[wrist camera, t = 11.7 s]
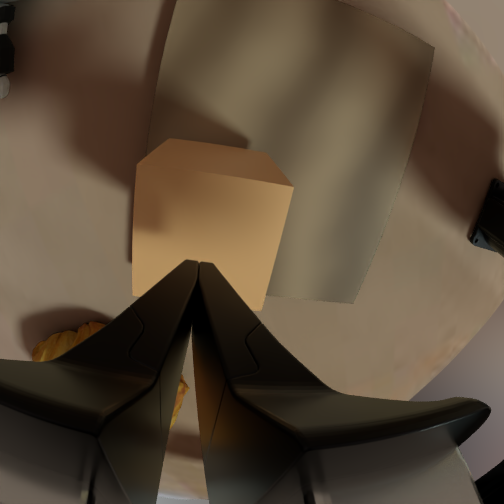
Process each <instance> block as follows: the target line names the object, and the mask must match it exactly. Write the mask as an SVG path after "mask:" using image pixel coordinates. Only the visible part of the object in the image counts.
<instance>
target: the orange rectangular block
mask: <svg viewBox="0 0 504 504" xmlns="http://www.w3.org/2000/svg"><path fill="white" fill-rule="evenodd" d="M293 189H294V186H293V185H292V184H291V183H290V181H289V180H288V179H287V178H286V176H285V175H284V174H283V173H282V171H281V170H280V169H279V168H278V166H277V165H276V164H275V163H274V161H273V160H272V159H271V158H270V157H269V155H268V154H267V153H265V152H260V151H254V150H249V149H243V148H237V147H231V146H225V145H218V144H211V143H204V142H197V141H189V140H181V139H173V138H169V139H167V140H166V141H165V142H164V143H162V144H161V145H160V146H159V147H157V148H156V149H155V150H153V151H152V152H151V153H150V154H148V155H147V156H146V157H145V158H144V159H142V160H141V161H140V162H139V163H138V164H137V168H136V180H135V194H134V212H133V241H132V288H133V296H139V297H141V296H142V295H143V294H144V293H146V292H147V291H148V290H149V289H150V288H152V287H153V286H154V285H155V284H156V283H158V282H159V281H160V280H161V279H162V278H163V277H165V276H166V275H167V274H168V273H169V272H171V271H172V270H173V269H174V268H176V267H177V266H178V265H179V264H180V263H182V262H183V261H184V260H186V259H189V260H196V261H198V262H199V263H200V262H201V261H204V262H211V263H213V264H214V265H215V266H216V267H217V268H218V270H219V271H220V272H221V273H222V275H223V276H224V277H225V278H226V280H227V281H228V282H229V283H230V285H231V286H232V287H233V288H234V289H235V291H236V292H237V293H238V294H239V296H240V297H241V298H242V299H243V300H244V302H245V303H246V304H247V305H248V307H249V308H250V309H251V310H255V311H261V310H262V306H263V303H264V299H265V296H266V292H267V288H268V285H269V281H270V277H271V274H272V270H273V266H274V262H275V259H276V255H277V251H278V247H279V244H280V240H281V236H282V232H283V228H284V225H285V221H286V217H287V213H288V209H289V205H290V201H291V197H292V193H293Z"/></svg>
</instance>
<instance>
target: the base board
mask: <svg viewBox="0 0 504 504" xmlns="http://www.w3.org/2000/svg"><path fill="white" fill-rule="evenodd" d="M434 49H435V48H434V47H433V46H431V45H429V44H428V43H426V42H424V41H423V40H421V39H419V38H417V37H415V36H414V35H412V34H410V33H408V32H406V31H404V30H402V29H401V28H399V27H397V26H395V25H393V24H391V23H389V22H386V21H384V20H382V19H380V18H378V17H376V16H373V15H371V14H369V13H367V12H364V11H362V10H360V9H357V8H355V7H352V6H350V5H347V4H344V3H342V2H339V1H336V0H177V2H176V5H175V9H174V13H173V16H172V20H171V24H170V27H169V31H168V35H167V39H166V43H165V48H164V52H163V56H162V61H161V66H160V70H159V75H158V80H157V85H156V91H155V96H154V102H153V108H152V114H151V120H150V126H149V133H148V141H147V148H146V156H147V155H148V154H150V153H151V152H152V151H153V150H155V149H156V148H157V147H159V146H160V145H161V144H162V143H164V142H165V141H166V140H167V139H169V138H173V139H181V140H189V141H197V142H204V143H211V144H218V145H225V146H231V147H237V148H243V149H249V150H254V151H260V152H265V153H267V154H268V155H269V157H270V158H271V159H272V160H273V161H274V163H275V164H276V165H277V166H278V168H279V169H280V170H281V171H282V173H283V174H284V175H285V176H286V178H287V179H288V180H289V181H290V183H291V184H292V185H293V186H294V189H293V193H292V197H291V201H290V205H289V209H288V213H287V217H286V221H285V225H284V228H283V232H282V236H281V240H280V244H279V247H278V251H277V255H276V259H275V262H274V266H273V270H272V274H271V277H270V281H269V285H268V288H267V292H266V295H268V296H277V297H287V298H296V299H306V300H317V301H327V302H339V303H350V304H353V303H354V301H355V299H356V296H357V294H358V292H359V290H360V287H361V285H362V283H363V281H364V278H365V276H366V274H367V271H368V269H369V267H370V264H371V262H372V259H373V257H374V255H375V252H376V250H377V247H378V245H379V242H380V240H381V237H382V234H383V232H384V229H385V227H386V224H387V221H388V219H389V216H390V213H391V210H392V207H393V205H394V202H395V199H396V196H397V193H398V190H399V187H400V184H401V181H402V178H403V175H404V172H405V169H406V165H407V162H408V159H409V155H410V152H411V149H412V145H413V142H414V138H415V135H416V131H417V127H418V123H419V119H420V115H421V111H422V107H423V103H424V99H425V95H426V90H427V86H428V81H429V76H430V71H431V66H432V60H433V55H434ZM146 156H145V157H146Z"/></svg>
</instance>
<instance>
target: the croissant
mask: <svg viewBox="0 0 504 504" xmlns="http://www.w3.org/2000/svg"><path fill="white" fill-rule="evenodd" d="M104 326H105V325H104V324H101V323H98V322H93V321H90V323H89V325H88V324H87V323H84V324H83V325H82V326H80V328H79V329H78V331H77V333H76V332H73V331H71V330H68V331H65V332H63V333H56V334H53V335H52V336H50V337H49V338H48V339H47V340H46V341H41V342H39V343H38V344H37V346H36V347H35V348H34V349H33V353H32V360H33V361H34V362H42V361H48V360H52V359H54V358H57V357H59V356H60V355H62V354H64V353H65V352H67V351H68V350H70V349H71V348H73V347H74V346H76V345H77V344H79V343H80V342H82V341H83V340H85V339H86V338H88V337H89V336H91V335H92V334H94V333H95V332H97V331H98V330H100V329H101V328H103V327H104ZM188 390H189V387H188V386H187V384H186V383H185V381H184V378H183V375H182V374H181V378H180V382H179V387H178V392H177V396H176V401H175V406H174V410H173V415H172V420H171V425H170V429H171V427H172V426H173V424H174V422H175V421H176V418H177V416H178V412H179V409H180V408H181V405H182V401H183V397H184V395H185V394H186V393H187V391H188Z"/></svg>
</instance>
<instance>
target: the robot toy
mask: <svg viewBox="0 0 504 504" xmlns="http://www.w3.org/2000/svg"><path fill="white" fill-rule="evenodd" d="M14 1H18V0H0V99H1V98H4V97H6V96H7V94H8V93H9V88H10V82H9V79H8V77H7V75H6V74H8V73H11V72H13V71H14V49H15V48H14V46H13V44H12V42H11V40H10V38H9V37H8V35H7V27H8V24H9V23H10V22H11V21H13V20H14V12H15V7H14V6H9V4H2V3H8V2H14Z"/></svg>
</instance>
